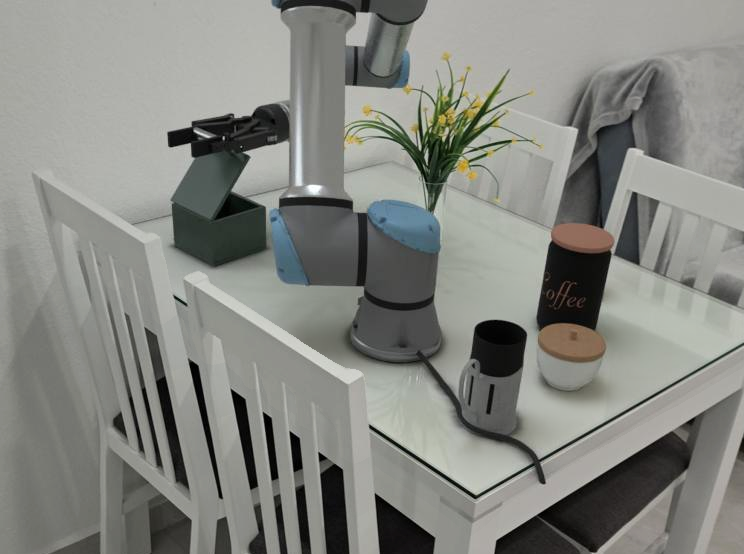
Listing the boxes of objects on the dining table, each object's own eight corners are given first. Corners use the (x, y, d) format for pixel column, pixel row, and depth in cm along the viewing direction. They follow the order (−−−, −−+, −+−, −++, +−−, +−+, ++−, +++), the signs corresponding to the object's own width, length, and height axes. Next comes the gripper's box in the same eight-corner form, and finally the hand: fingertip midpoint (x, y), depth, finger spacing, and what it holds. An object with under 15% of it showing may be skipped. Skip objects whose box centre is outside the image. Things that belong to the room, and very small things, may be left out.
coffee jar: (522, 324, 162) (538, 230, 152) (561, 309, 168) (578, 218, 159) (568, 350, 156) (587, 253, 146) (607, 332, 162) (627, 239, 152)
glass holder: (527, 418, 137) (542, 331, 129) (478, 462, 127) (492, 370, 119) (477, 396, 141) (489, 311, 133) (427, 437, 131) (436, 348, 123)
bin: (227, 229, 187) (225, 188, 182) (266, 248, 180) (266, 206, 176) (174, 246, 178) (171, 203, 173) (213, 266, 172) (211, 223, 167)
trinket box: (595, 367, 151) (605, 318, 146) (599, 402, 142) (611, 351, 137) (531, 360, 152) (539, 310, 147) (531, 394, 143) (540, 342, 138)
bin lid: (209, 139, 174) (185, 119, 168) (251, 157, 168) (227, 137, 162) (172, 202, 173) (147, 184, 167) (213, 221, 167) (188, 204, 161)
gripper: (311, 154, 174) (215, 180, 159) (246, 129, 184) (150, 151, 169) (312, 115, 170) (213, 138, 155) (246, 91, 180) (146, 110, 165)
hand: (180, 144), depth 162 cm, fingers closed on bin lid, 6 cm apart
